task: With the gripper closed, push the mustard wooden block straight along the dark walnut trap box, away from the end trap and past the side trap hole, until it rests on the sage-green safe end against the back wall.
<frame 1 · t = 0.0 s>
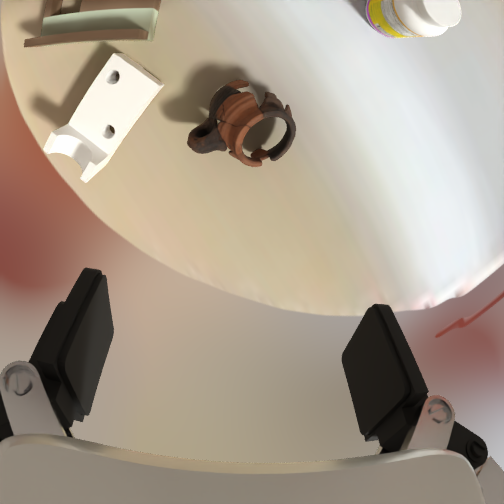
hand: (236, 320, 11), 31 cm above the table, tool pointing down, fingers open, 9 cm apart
pottery mug: (239, 120, 36), on the table
bracket: (115, 108, 35), on the table
supplement bottle: (386, 15, 28), on the table
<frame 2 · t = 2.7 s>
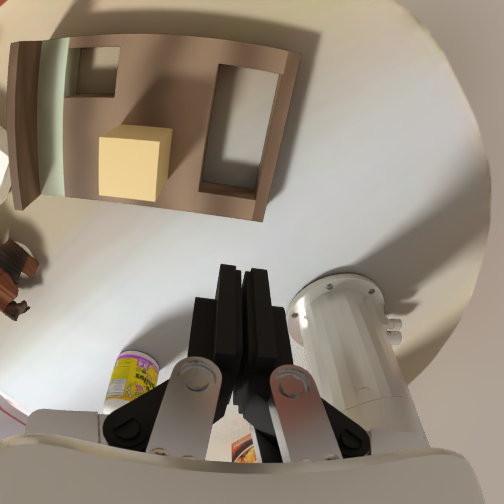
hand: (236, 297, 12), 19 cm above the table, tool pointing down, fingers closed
pottery mug: (12, 261, 33), on the table
trap box: (148, 117, 25), on the table
block: (143, 152, 24), point 2 cm above the table, touching trap box
supplement bottle: (138, 361, 44), on the table
orange cereal box: (277, 429, 58), on the table
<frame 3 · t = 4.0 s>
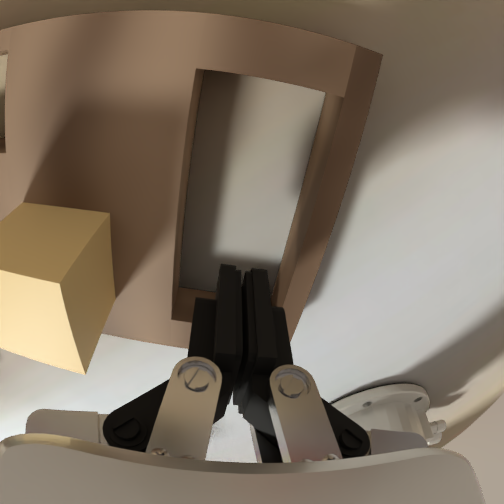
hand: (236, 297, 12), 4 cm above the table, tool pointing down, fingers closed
trap box: (77, 179, 13), on the table
block: (67, 252, 12), point 2 cm above the table, touching trap box
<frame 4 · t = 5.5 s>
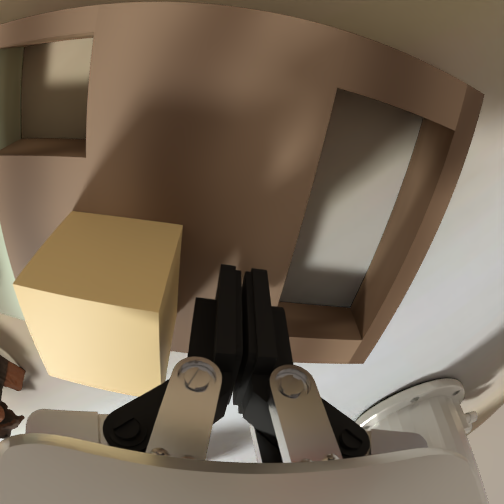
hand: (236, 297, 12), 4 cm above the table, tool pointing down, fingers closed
trap box: (163, 188, 13), on the table
block: (125, 266, 12), point 3 cm above the table, touching gripper
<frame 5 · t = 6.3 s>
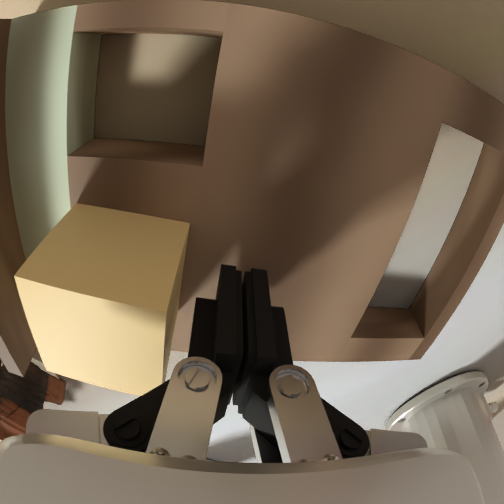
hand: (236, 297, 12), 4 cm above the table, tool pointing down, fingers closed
pottery mug: (24, 372, 22), on the table
trap box: (261, 199, 14), on the table
block: (128, 262, 12), point 3 cm above the table, touching gripper, trap box
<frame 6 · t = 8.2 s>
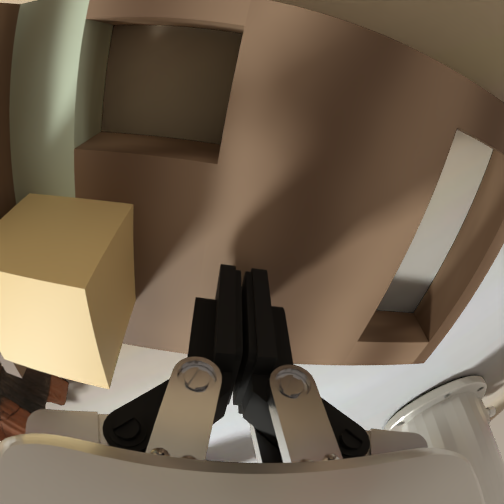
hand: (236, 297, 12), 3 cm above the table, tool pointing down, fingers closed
pottery mug: (24, 371, 21), on the table
trap box: (272, 200, 13), on the table
block: (81, 249, 11), point 2 cm above the table, touching trap box
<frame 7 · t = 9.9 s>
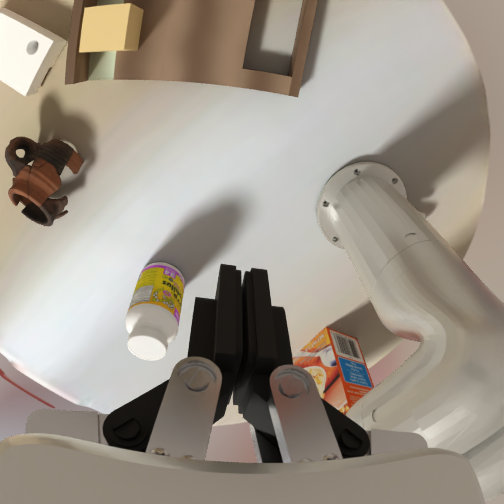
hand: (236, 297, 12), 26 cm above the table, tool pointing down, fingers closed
pottery mug: (51, 167, 34), on the table
trap box: (197, 15, 25), on the table
bracket: (21, 46, 24), on the table
block: (119, 30, 24), point 2 cm above the table, touching trap box
supplement bottle: (162, 277, 44), on the table
orange cereal box: (302, 367, 59), on the table
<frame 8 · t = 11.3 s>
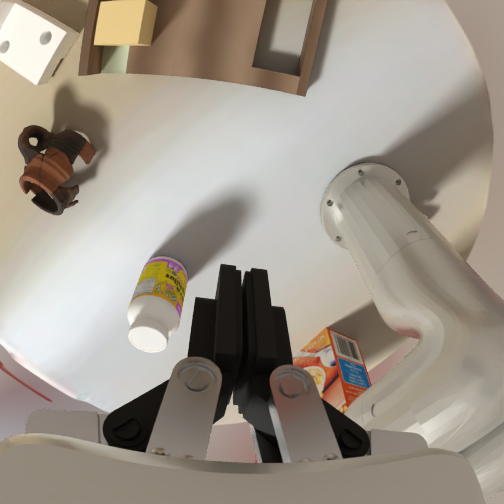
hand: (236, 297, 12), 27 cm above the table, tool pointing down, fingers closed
pottery mug: (63, 157, 34), on the table
trap box: (209, 14, 26), on the table
bracket: (34, 37, 25), on the table
block: (133, 26, 24), point 2 cm above the table, touching trap box
supplement bottle: (166, 272, 45), on the table
orange cereal box: (301, 367, 59), on the table
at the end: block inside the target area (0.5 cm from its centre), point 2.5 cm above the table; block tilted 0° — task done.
